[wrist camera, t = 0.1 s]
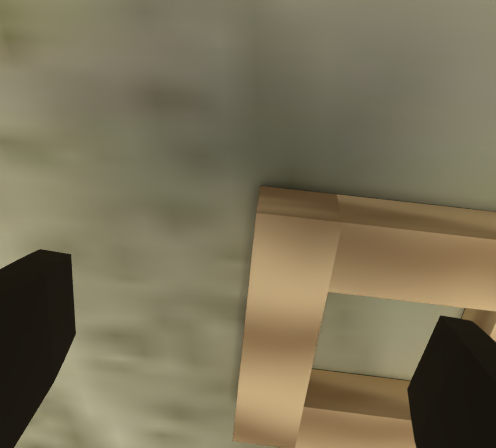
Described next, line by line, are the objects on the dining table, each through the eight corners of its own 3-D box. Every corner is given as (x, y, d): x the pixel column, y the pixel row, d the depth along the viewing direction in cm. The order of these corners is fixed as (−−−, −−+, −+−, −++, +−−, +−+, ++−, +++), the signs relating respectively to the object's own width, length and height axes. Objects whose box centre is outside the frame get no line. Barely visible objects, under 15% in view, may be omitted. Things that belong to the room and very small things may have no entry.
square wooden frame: (476, 431, 25) (494, 474, 23) (237, 401, 26) (232, 440, 24) (583, 221, 19) (621, 253, 17) (260, 185, 19) (256, 212, 17)
